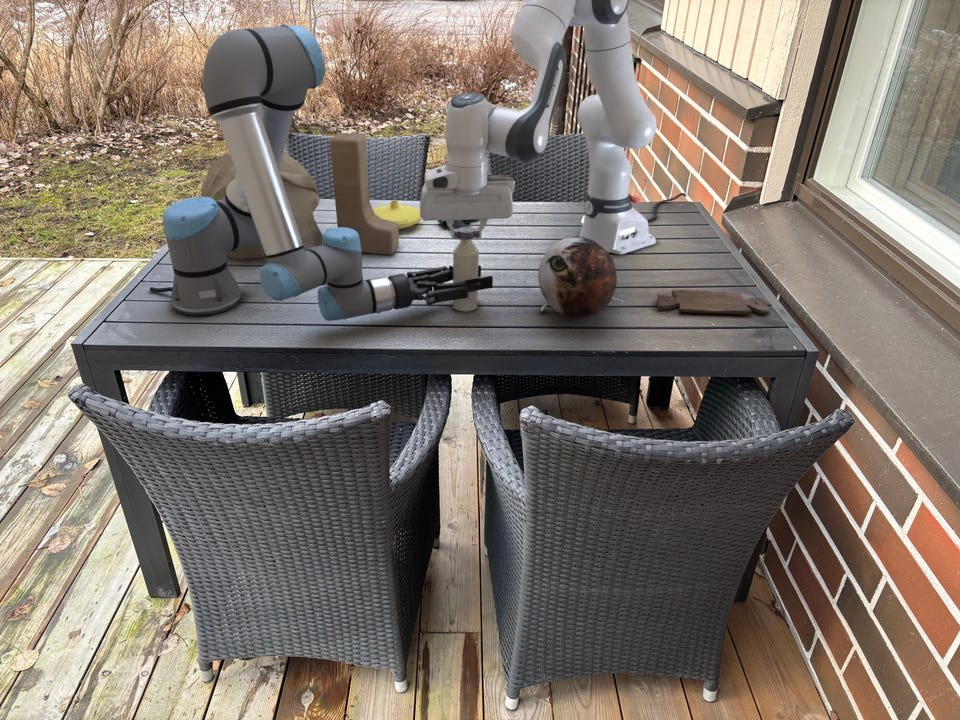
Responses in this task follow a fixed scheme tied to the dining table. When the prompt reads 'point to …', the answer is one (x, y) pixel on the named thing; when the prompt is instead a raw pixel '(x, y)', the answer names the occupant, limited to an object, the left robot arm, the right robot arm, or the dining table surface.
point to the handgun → (456, 223)
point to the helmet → (297, 190)
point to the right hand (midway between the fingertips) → (466, 237)
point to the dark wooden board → (711, 302)
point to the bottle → (465, 272)
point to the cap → (466, 233)
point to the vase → (399, 214)
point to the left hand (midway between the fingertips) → (485, 276)
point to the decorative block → (358, 195)
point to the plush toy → (577, 277)
